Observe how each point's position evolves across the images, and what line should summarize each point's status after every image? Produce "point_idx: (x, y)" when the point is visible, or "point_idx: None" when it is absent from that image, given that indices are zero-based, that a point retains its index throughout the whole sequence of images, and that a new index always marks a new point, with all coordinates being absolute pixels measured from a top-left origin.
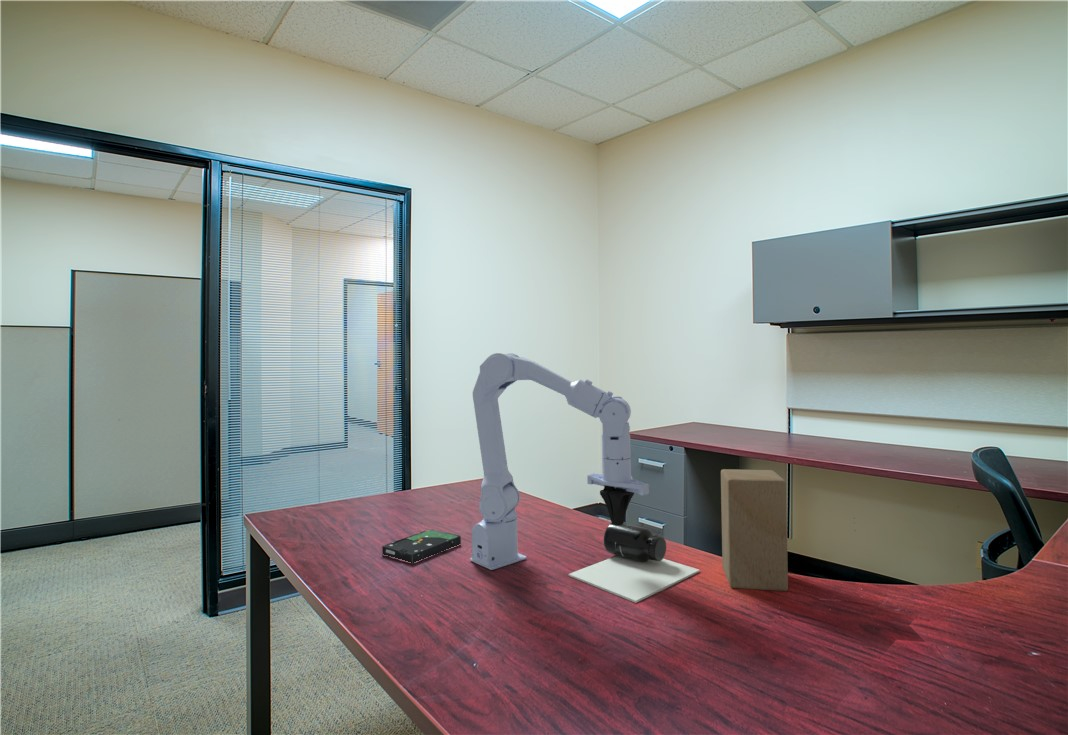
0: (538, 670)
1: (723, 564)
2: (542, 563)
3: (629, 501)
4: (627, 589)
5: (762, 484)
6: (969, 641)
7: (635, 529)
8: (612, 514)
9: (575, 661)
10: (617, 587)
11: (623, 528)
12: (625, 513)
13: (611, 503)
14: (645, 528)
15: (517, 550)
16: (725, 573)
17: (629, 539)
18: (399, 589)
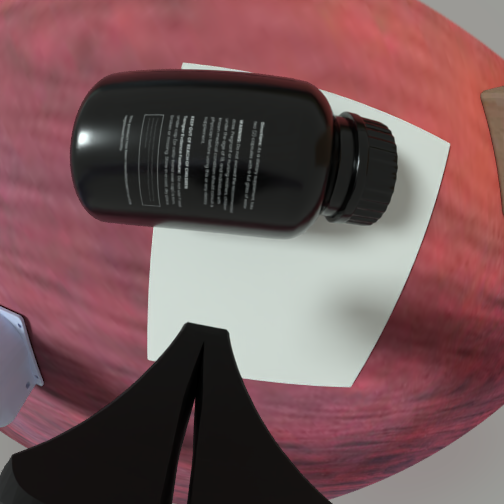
0: None
1: (497, 119)
2: (55, 319)
3: (286, 462)
4: (318, 362)
5: None
6: None
7: (256, 194)
8: (185, 427)
9: (320, 476)
10: (292, 365)
11: (172, 199)
12: (240, 375)
13: (173, 492)
14: (306, 147)
15: (7, 336)
16: (498, 153)
17: (242, 234)
18: None
